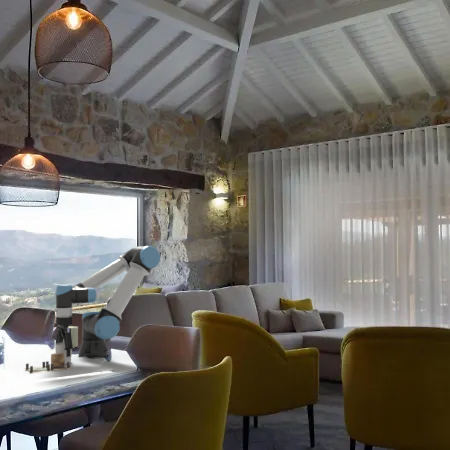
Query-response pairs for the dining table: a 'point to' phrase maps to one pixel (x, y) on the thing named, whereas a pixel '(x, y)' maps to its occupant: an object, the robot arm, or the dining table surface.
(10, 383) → the dining table surface
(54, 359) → the wooden round post
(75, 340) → the can
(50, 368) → the pin board
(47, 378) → the dining table surface
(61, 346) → the cup
